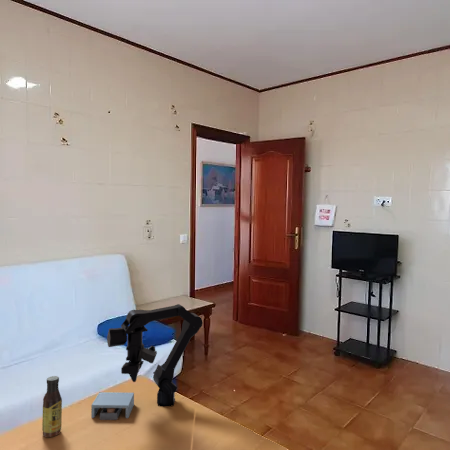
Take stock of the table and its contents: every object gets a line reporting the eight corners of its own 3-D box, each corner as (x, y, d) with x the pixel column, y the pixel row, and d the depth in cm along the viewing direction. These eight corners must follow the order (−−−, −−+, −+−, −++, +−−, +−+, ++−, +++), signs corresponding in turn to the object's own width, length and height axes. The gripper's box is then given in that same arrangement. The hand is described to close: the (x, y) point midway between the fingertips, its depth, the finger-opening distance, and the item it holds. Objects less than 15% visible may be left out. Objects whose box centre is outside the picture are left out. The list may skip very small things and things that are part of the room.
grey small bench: (133, 405, 157) (134, 392, 157) (128, 419, 147) (128, 405, 147) (99, 405, 157) (99, 392, 157) (91, 419, 147) (91, 405, 147)
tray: (122, 410, 154) (122, 402, 154) (117, 421, 146) (117, 413, 146) (105, 409, 154) (105, 402, 154) (99, 421, 146) (99, 413, 146)
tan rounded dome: (116, 411, 151) (116, 405, 151) (114, 416, 148) (114, 410, 148) (108, 411, 151) (108, 405, 151) (105, 416, 148) (105, 410, 148)
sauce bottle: (54, 439, 134) (54, 383, 133) (38, 437, 135) (38, 381, 134) (65, 428, 140) (65, 375, 139) (50, 426, 142) (50, 373, 140)
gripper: (151, 352, 143) (150, 393, 143) (159, 335, 161) (158, 371, 162) (121, 351, 142) (120, 393, 143) (132, 334, 161) (131, 371, 162)
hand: (134, 381), depth 153 cm, fingers closed
